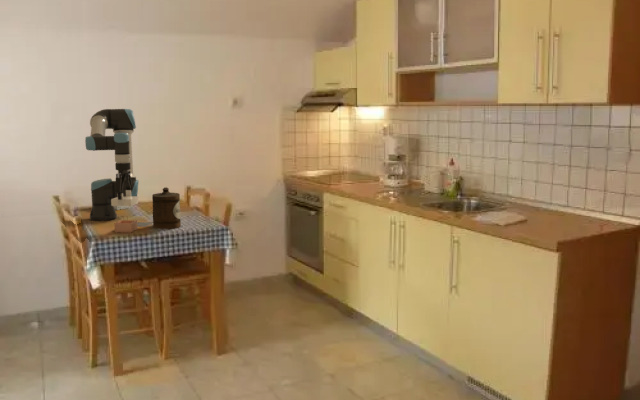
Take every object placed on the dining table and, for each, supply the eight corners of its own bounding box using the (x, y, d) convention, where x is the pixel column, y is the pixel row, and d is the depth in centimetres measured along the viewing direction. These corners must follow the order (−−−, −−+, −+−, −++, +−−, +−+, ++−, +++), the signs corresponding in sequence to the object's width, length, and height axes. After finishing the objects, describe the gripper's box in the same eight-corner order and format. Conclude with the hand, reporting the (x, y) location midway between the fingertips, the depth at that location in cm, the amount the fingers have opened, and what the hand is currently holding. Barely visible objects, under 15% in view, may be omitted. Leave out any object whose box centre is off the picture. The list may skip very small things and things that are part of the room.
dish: (114, 232, 316) (114, 223, 315) (121, 229, 325) (121, 220, 324) (131, 233, 315) (131, 223, 314) (137, 229, 324) (137, 220, 323)
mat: (124, 227, 330) (124, 226, 330) (132, 222, 342) (132, 222, 342) (145, 227, 329) (145, 226, 329) (153, 223, 341) (153, 222, 341)
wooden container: (182, 228, 327) (181, 188, 324) (154, 230, 322) (152, 190, 319) (178, 223, 341) (177, 185, 337) (152, 225, 336) (150, 186, 332)
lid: (111, 205, 313) (111, 199, 312) (119, 202, 323) (119, 196, 322) (131, 206, 312) (130, 199, 311) (138, 202, 322) (138, 196, 322)
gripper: (121, 164, 302) (123, 207, 306) (137, 160, 325) (139, 200, 328) (106, 164, 303) (109, 207, 306) (124, 160, 325) (126, 200, 329)
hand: (125, 203), depth 317 cm, fingers closed on lid, 10 cm apart
